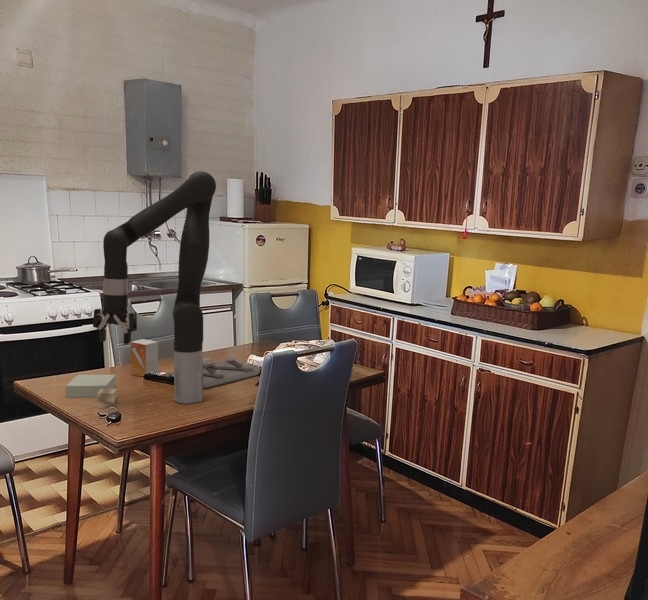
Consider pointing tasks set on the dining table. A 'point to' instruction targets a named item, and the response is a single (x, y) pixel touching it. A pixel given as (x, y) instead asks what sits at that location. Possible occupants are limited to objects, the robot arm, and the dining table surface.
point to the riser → (89, 385)
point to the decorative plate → (225, 372)
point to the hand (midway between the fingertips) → (114, 342)
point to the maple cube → (107, 398)
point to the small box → (144, 357)
